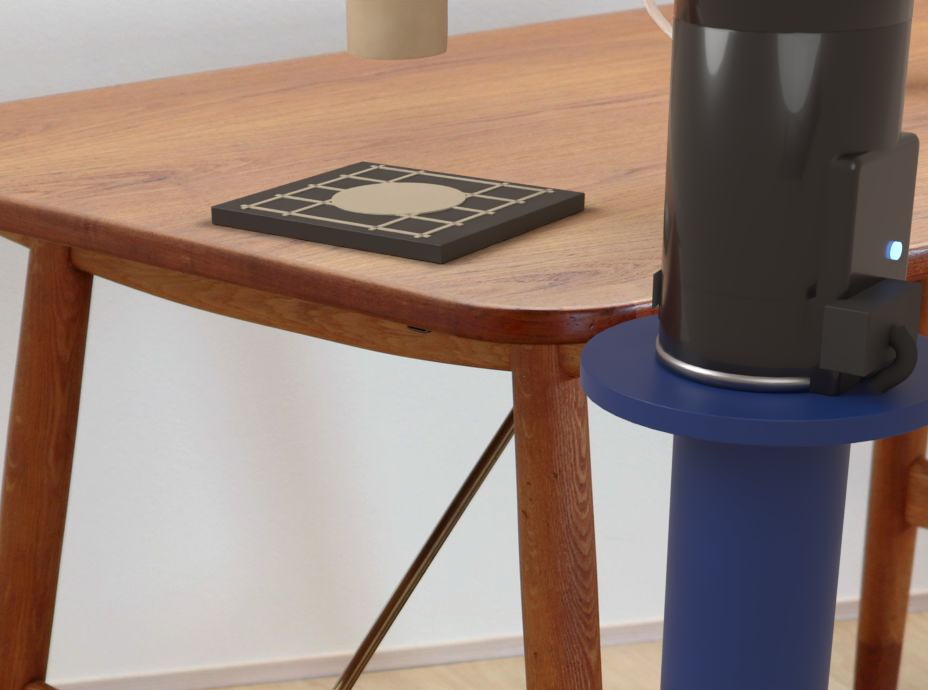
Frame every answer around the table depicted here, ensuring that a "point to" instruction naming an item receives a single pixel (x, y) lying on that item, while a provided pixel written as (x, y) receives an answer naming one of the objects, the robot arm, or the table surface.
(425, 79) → the table surface
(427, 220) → the board
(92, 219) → the table surface
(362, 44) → the candle
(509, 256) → the table surface
